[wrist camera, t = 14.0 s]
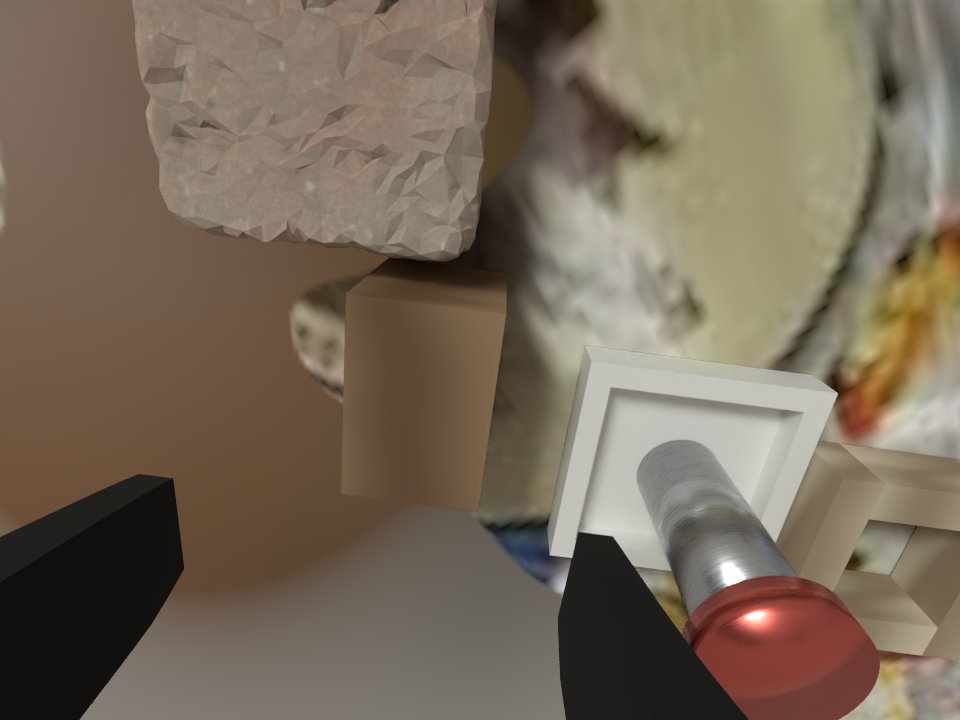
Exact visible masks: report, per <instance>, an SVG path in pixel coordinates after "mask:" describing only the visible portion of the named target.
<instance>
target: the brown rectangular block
mask: <svg viewBox="0 0 960 720" xmlns="http://www.w3.org/2000/svg"><path fill="white" fill-rule="evenodd" d="M506 307H507V273H503V272H496V271H488V270H480V269H472V268H464V267H457V266H449V265H441V264H433V263H426V262H418V261H410V260H402V259H396V258H391V257H389V258H388V259H387V260H386V261H385V262H383V263H382V264H381V265H380V266H378V267H377V268H376V269H375V270H374V271H372V272H371V273H370V274H369V275H368V276H366V277H365V278H364V279H363V280H362V281H360V282H359V283H358V284H357V285H356V286H354V287H353V288H352V289H351V290H349V291H348V292H347V293H346V307H345V353H344V398H343V443H342V445H343V446H342V490H341V494H344V495H352V496H361V497H367V498H375V499H382V500H390V501H398V502H405V503H413V504H420V505H428V506H436V507H444V508H451V509H459V510H466V511H474V512H478V509H479V502H480V495H481V488H482V481H483V474H484V467H485V460H486V453H487V446H488V439H489V432H490V425H491V418H492V411H493V404H494V397H495V390H496V383H497V376H498V369H499V362H500V355H501V348H502V341H503V334H504V327H505V320H506Z"/></svg>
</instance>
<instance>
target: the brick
mask: <svg viewBox="0 0 960 720" xmlns="http://www.w3.org/2000/svg"><path fill="white" fill-rule="evenodd" d="M497 2H498V0H132V4H133V10H134V16H135V40H136V48H137V55H138V62H139V70H140V74H141V79H142V82H143V84H144V86H145V87H146V89H147V91H148V93H149V94H150V96H151V97H150V101H149V104H148V107H147V111H146V118H147V123H148V128H149V134H150V138H151V141H152V144H153V146H154V149H155V152H156V155H157V157H158V160H159V163H160V180H159V181H160V182H159V183H160V184H159V189H160V191H161V194H162V196H163V198H164V200H165V203H166V205H167V207H168V209H169V211H170V212H171V213H172V214H173V215H174V216H175V217H176V218H177V219H178V220H179V221H180V222H181V223H183V224H184V225H185V226H187V227H190V228H195V229H200V230H204V231H205V232H208V233H211V234H215V235H219V236H226V237H235V238H251V239H255V240H258V241H262V242H273V241H287V242H291V243H300V242H303V243H316V244H320V245H323V246H326V247H328V248H344V247H354V248H361V249H365V250H367V251H369V252H372V253H375V254H380V255H384V256H388V257H404V258H407V259H414V260H430V261H442V262H445V261H449V260H452V259H455V258H458V257H459V255H460V254H461V252H464V251H468V250H469V249H470V247H471V245H472V243H473V241H474V240H475V235H476V228H477V224H478V221H479V212H480V205H481V199H482V197H481V192H482V186H483V178H482V175H483V169H484V151H485V138H486V129H487V121H488V118H489V113H490V103H491V90H492V76H493V61H494V20H495V14H496V8H497Z"/></svg>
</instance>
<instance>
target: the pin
mask: <svg viewBox="0 0 960 720" xmlns="http://www.w3.org/2000/svg"><path fill="white" fill-rule="evenodd" d="M636 479H637V485H638V488H639V490H640V493H641V495H642V498H643V500H644V503H645V506H646V508H647V511H648V513H649V516H650V518H651V521H652V523H653V526H654V528H655V531H656V533H657V536H658V538H659V541H660V543H661V546H662V549H663V551H664V554H665V556H666V559H667V561H668V564H669V566H670V569H671V571H672V574H673V576H674V579H675V581H676V584H677V586H678V589H679V592H680V594H681V597H682V599H683V602H684V604H685V607H686V609H687V612H688V614H689V619H688V621H687V623H686V625H685V628H684V630H683V634H682V636H683V637H684V638H685V640H686V641H687V642H688V644H689V645H690V646H691V648H692V649H693V650H694V652H695V653H696V654H697V656H698V657H699V658H700V660H701V661H702V662H703V663H704V665H705V666H706V667H707V669H708V670H709V671H710V673H711V674H712V675H713V676H714V678H715V679H716V680H717V681H718V683H719V684H720V685H721V686H722V687H723V689H724V690H725V691H726V692H727V694H728V695H729V696H730V697H731V699H732V700H733V701H734V702H735V703H736V705H737V706H738V707H739V708H740V710H741V711H742V712H743V713H744V714H745V716H746V717H747V718H748V719H749V720H838V719H840V718H842V717H843V716H845V715H847V714H848V713H850V712H851V711H852V710H854V709H855V708H856V707H857V706H858V705H859V704H860V703H861V702H862V701H864V700H865V698H866V697H867V696H868V694H869V693H870V692H871V690H872V688H873V687H874V685H875V683H876V680H877V678H878V674H879V668H880V660H879V655H878V651H877V649H876V647H875V644H874V643H873V641H872V640H871V639H870V637H869V636H868V634H867V633H866V632H865V630H864V629H863V628H862V626H861V625H860V624H859V622H858V621H857V620H856V619H855V617H854V616H853V615H852V613H851V612H850V611H849V609H848V608H847V607H846V605H845V604H844V603H843V601H842V600H841V599H840V598H839V597H838V596H837V595H836V594H835V593H834V592H832V591H831V590H830V589H828V588H827V587H825V586H823V585H821V584H819V583H816V582H814V581H811V580H808V579H803V578H799V576H798V575H797V573H796V572H795V570H794V569H793V568H792V566H791V565H790V563H789V562H788V560H787V559H786V557H785V556H784V555H783V553H782V552H781V550H780V549H779V547H778V546H777V544H776V543H775V542H774V540H773V539H772V537H771V536H770V534H769V533H768V531H767V530H766V529H765V527H764V526H763V524H762V523H761V521H760V520H759V519H758V517H757V516H756V514H755V513H754V511H753V510H752V508H751V507H750V506H749V504H748V503H747V501H746V500H745V498H744V497H743V495H742V494H741V493H740V491H739V490H738V488H737V487H736V485H735V484H734V482H733V481H732V480H731V478H730V477H729V475H728V474H727V472H726V471H725V469H724V468H723V467H722V465H721V464H720V462H719V461H718V459H717V458H716V456H715V455H714V454H713V452H712V451H711V450H710V449H709V448H707V447H706V446H704V445H703V444H701V443H698V442H695V441H691V440H673V441H668V442H665V443H663V444H660V445H658V446H657V447H655V448H653V449H652V450H651V451H649V452H648V453H647V454H646V455H645V457H644V458H643V459H642V461H641V462H640V464H639V467H638V470H637V475H636Z"/></svg>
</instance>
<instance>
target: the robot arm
mask: <svg viewBox="0 0 960 720" xmlns="http://www.w3.org/2000/svg"><path fill="white" fill-rule="evenodd" d="M183 570H184V563H183V554H182V546H181V538H180V530H179V522H178V513H177V505H176V497H175V489H174V481H173V478H165V477H157V476H150V475H142V474H138V475H136V476H133V477H131V478H128V479H126V480H123V481H121V482H119V483H116V484H114V485H112V486H109V487H107V488H105V489H103V490H100V491H98V492H96V493H94V494H92V495H90V496H87V497H85V498H83V499H81V500H79V501H77V502H74V503H72V504H70V505H68V506H66V507H64V508H62V509H60V510H58V511H55V512H53V513H51V514H49V515H47V516H45V517H42V518H40V519H38V520H36V521H34V522H32V523H30V524H28V525H25V526H23V527H21V528H19V529H17V530H14V531H12V532H10V533H8V534H6V535H4V536H2V537H0V720H80V718H81V717H82V716H83V714H84V713H85V712H86V710H87V709H88V708H89V706H90V705H91V704H92V703H93V701H94V700H95V699H96V697H97V696H98V695H99V693H100V692H101V691H102V689H103V688H104V687H105V685H106V684H107V683H108V682H109V680H110V679H111V678H112V676H113V675H114V674H115V672H116V671H117V670H118V668H119V667H120V666H121V665H122V663H123V662H124V661H125V659H126V658H127V656H128V655H129V654H130V653H131V651H132V650H133V649H134V647H135V646H136V645H137V643H138V642H139V641H140V639H141V638H142V636H143V635H144V634H145V632H146V631H147V630H148V628H149V627H150V626H151V624H152V622H153V621H154V619H155V618H156V616H157V614H158V613H159V611H160V609H161V608H162V606H163V605H164V603H165V601H166V600H167V598H168V596H169V594H170V593H171V591H172V589H173V587H174V586H175V584H176V582H177V580H178V578H179V577H180V575H181V573H182V571H183ZM558 634H559V635H558V636H559V661H560V680H561V687H562V695H563V702H564V708H565V716H566V720H749V719H748V718H747V717H746V716H745V714H744V713H743V712H742V711H741V710H740V708H739V707H738V706H737V705H736V703H735V702H734V701H733V700H732V699H731V697H730V696H729V695H728V694H727V692H726V691H725V690H724V689H723V687H722V686H721V685H720V684H719V683H718V681H717V680H716V679H715V678H714V676H713V675H712V674H711V673H710V671H709V670H708V669H707V667H706V666H705V665H704V663H703V662H702V661H701V660H700V658H699V657H698V656H697V654H696V653H695V652H694V650H693V649H692V648H691V646H690V645H689V644H688V642H687V641H686V640H685V638H684V637H683V636H682V634H681V633H680V632H679V630H678V629H677V627H676V626H675V625H674V623H673V622H672V621H671V619H670V618H669V617H668V615H667V614H666V612H665V611H664V610H663V608H662V607H661V605H660V604H659V603H658V601H657V600H656V598H655V597H654V595H653V594H652V593H651V591H650V590H649V588H648V587H647V585H646V584H645V582H644V581H643V579H642V578H641V577H640V575H639V574H638V572H637V571H636V569H635V568H634V566H633V565H632V563H631V562H630V560H629V559H628V557H627V556H626V554H625V553H624V551H623V550H622V549H621V547H620V546H619V544H618V543H617V541H616V540H615V539H614V537H613V536H606V535H599V534H591V533H584V532H578V535H577V539H576V543H575V548H574V552H573V556H572V560H571V565H570V569H569V573H568V577H567V582H566V586H565V590H564V594H563V599H562V603H561V607H560V611H559V616H558Z"/></svg>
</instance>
